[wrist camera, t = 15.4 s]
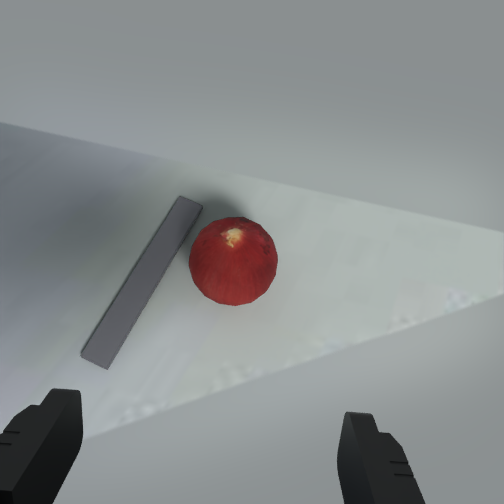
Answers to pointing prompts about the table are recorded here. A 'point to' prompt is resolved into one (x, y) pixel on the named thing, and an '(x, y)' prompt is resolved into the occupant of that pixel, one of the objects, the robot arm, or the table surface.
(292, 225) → the table surface
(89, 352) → the flat gray rectangular bar
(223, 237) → the onion
